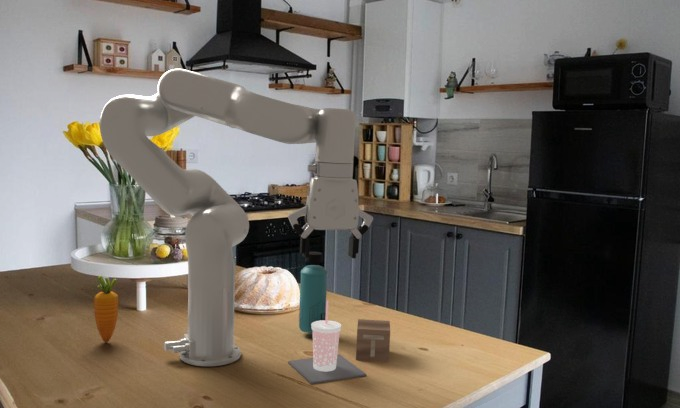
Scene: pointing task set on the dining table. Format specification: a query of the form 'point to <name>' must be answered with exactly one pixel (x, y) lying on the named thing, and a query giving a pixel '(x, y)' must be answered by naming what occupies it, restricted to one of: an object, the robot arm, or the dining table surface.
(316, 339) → the beverage cup
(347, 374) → the grey mat
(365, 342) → the letter cube
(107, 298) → the carrot
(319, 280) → the beverage bottle
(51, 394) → the dining table surface
